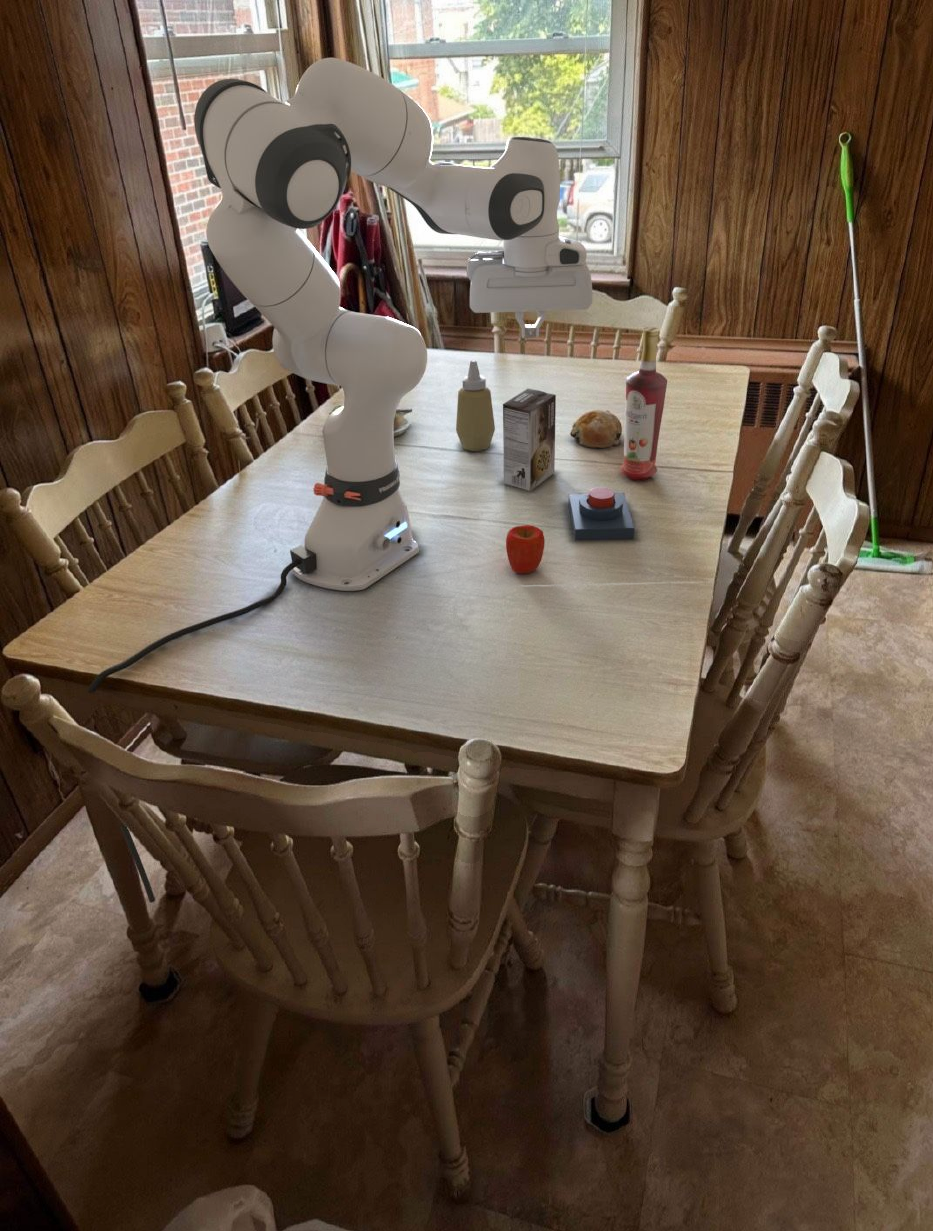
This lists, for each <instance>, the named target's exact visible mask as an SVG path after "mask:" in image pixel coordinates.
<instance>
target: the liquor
mask: <svg viewBox="0 0 933 1231" xmlns="http://www.w3.org/2000/svg"><path fill="white" fill-rule="evenodd" d="M659 333H660V328H659V327H656V326H655V327H654V326H646V327H644V328H642V345H643V346H642V347H643V348H642V351H641V359H640V364H639V369H638V371H635V372H632V373H631V374H630V375H628V376H627V377H626V379H625V398H624V400H625V402H624V409H625V410H624V446H623V464H622V465H621V467H620V471H621V472H622V473H623V474H624V475H625V477H627V478H628V479H630V480H632V481H638V482H639V481H640V482H641V481H646V480H648V479H650V478H651V477H653V476H655V474H657V472H658V468H657V465H656V462H657V455H658V454H657V453H658V446H659V440H660V431H661V425H662V419H663V413H664V408H665V401H666V400H665V399H666V393H667V386H668V379H667V377H665V376H664V375H663V374H662V373H660V372H658V371H657V345H658V341H659Z"/></svg>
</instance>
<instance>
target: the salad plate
mask: <svg viewBox="0 0 933 1231" xmlns="http://www.w3.org/2000/svg"><path fill="white" fill-rule="evenodd" d="M342 406H343V405H337V406H335V407H334V408H333V409H332V411H331V412H329V413H328V415H330V414H331V413H332V412H333V411H335V410H336V409H338V408H340V407H342ZM412 412H413V409H412V408H397V409H396V413H395V417H394V425H393V431H394V438H395V437H397V436H400V435H402V434H404V433H405V432H406V431H408V429H410V427H411V426H412V423H411V421H410V420H408V419H407V418H406V417H404V416H406V415H408V414H411V413H412Z"/></svg>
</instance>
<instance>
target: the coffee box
mask: <svg viewBox="0 0 933 1231" xmlns="http://www.w3.org/2000/svg"><path fill="white" fill-rule="evenodd" d="M556 397H557V395H556V394H554V393H550V392H549V393H548V392H545V391H542V390H538V389H533V388H526V389H524V390H522V391H521V392H520V393H518V394H517V395H515V396H513V397H512V398H511V399H509V400H507V401H506V402H504V403H502V434H503V435H502V436H503V437H502V438H503V440H502V441H503V443H502V444H503V447H502V448H503V450H502V452H503V454H502V455H503V484H504V485H508V486H512V487H515V488H519V489H522V490H525V491H530V492H531V491H533V490H535V488H536V487H538V486H539V485H540V484H542V483H544V481H546V480H547V479H549V478H550V477H551V476H552V475H554V474H555V465H556V464H555V460H556V458H555V456H556V413H557V412H556V408H557V407H556V404H557V403H556V402H557V400H556V399H557V398H556Z"/></svg>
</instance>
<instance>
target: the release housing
mask: <svg viewBox="0 0 933 1231" xmlns="http://www.w3.org/2000/svg"><path fill="white" fill-rule="evenodd" d="M588 498H589V492H588V493H568V510H569V515H570V520H571V521H570V522H571V526H572V533H573V538H574V541H608V540H609V541H615V540H634V538H635V529H636V528H635V525H634V521H633V518H632V514H631V511H630V508H629V505H628V501H627V498H626V494H625V492H614V505H613V506H611V507H608V508H596V507H592V506H590V505H589V504H588Z"/></svg>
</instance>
